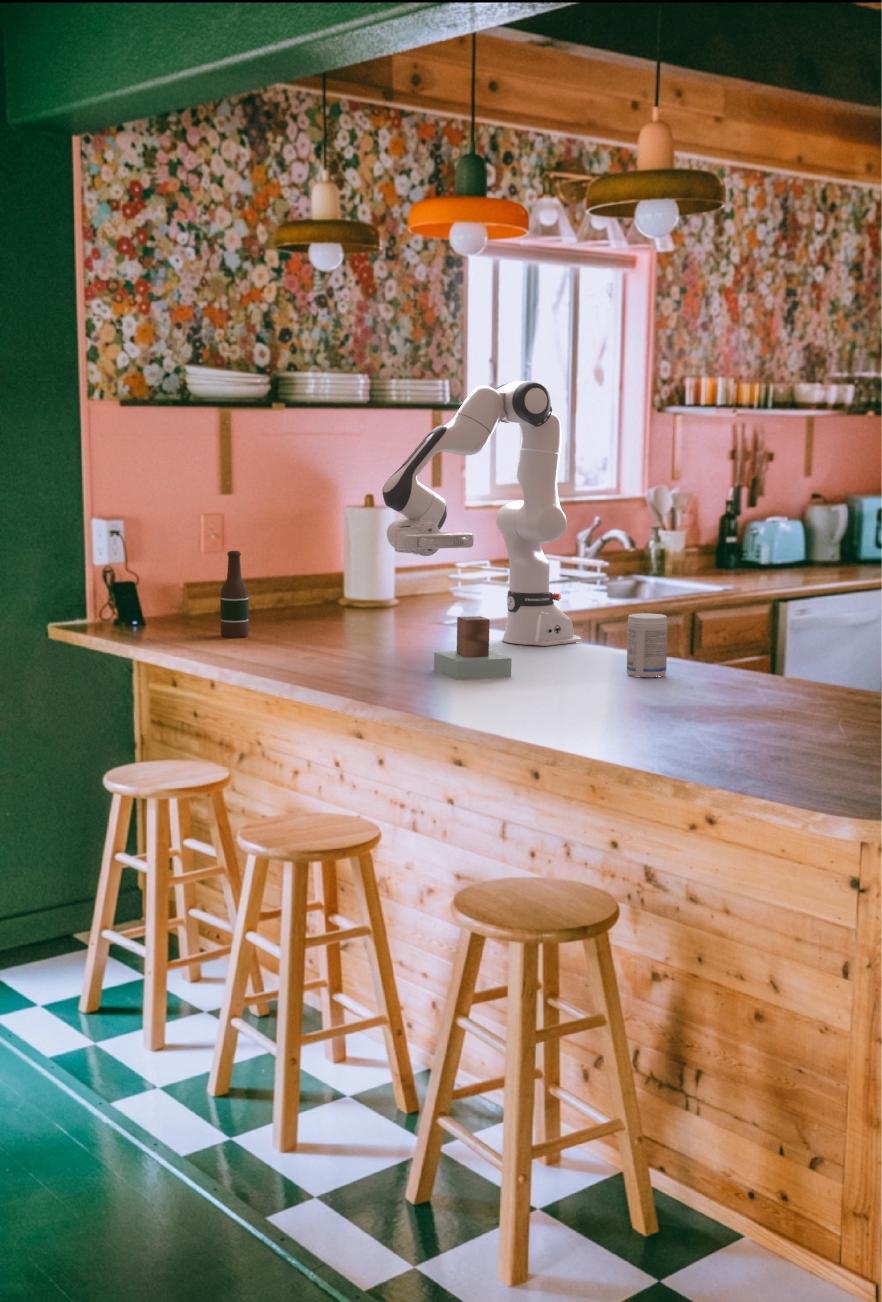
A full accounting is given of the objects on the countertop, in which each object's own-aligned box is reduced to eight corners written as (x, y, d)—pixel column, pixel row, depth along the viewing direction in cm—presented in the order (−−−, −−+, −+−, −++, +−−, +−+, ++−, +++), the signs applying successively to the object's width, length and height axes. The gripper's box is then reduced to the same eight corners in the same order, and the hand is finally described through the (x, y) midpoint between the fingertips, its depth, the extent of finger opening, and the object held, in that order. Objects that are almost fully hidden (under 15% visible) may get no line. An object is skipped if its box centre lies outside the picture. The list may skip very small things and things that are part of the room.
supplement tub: (670, 674, 325) (672, 614, 323) (660, 680, 316) (663, 619, 314) (631, 670, 329) (633, 611, 326) (621, 676, 320) (623, 616, 318)
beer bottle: (254, 636, 375) (253, 550, 371) (236, 639, 368) (235, 552, 364) (233, 633, 379) (232, 549, 375) (214, 636, 372) (214, 551, 368)
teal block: (485, 669, 330) (485, 649, 330) (510, 678, 318) (511, 658, 317) (433, 672, 325) (434, 652, 324) (457, 682, 312) (458, 661, 311)
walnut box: (479, 652, 324) (480, 616, 323) (488, 656, 319) (489, 619, 317) (456, 653, 322) (457, 616, 321) (465, 657, 317) (466, 620, 315)
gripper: (458, 549, 352) (484, 554, 340) (389, 551, 342) (413, 556, 330) (459, 526, 351) (485, 529, 339) (389, 527, 341) (414, 531, 329)
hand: (449, 542), depth 335 cm, fingers open, 8 cm apart
